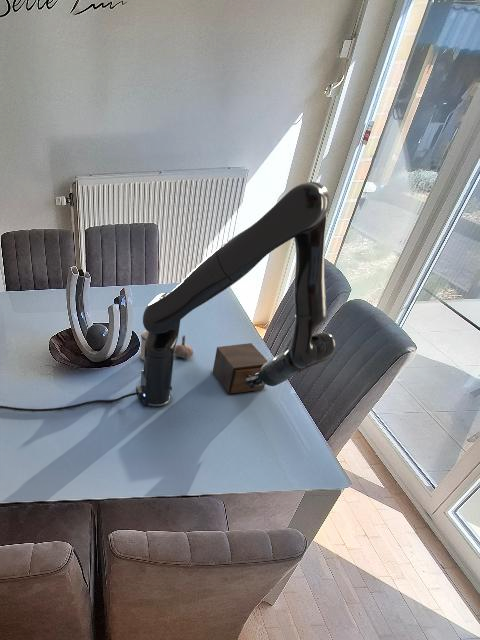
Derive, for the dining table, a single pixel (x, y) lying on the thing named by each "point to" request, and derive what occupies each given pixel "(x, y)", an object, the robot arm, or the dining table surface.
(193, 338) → the dining table surface
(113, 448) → the dining table surface
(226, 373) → the cabinet
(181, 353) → the garlic bulb
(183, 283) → the robot arm
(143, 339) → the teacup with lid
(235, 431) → the dining table surface
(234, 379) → the drawer
